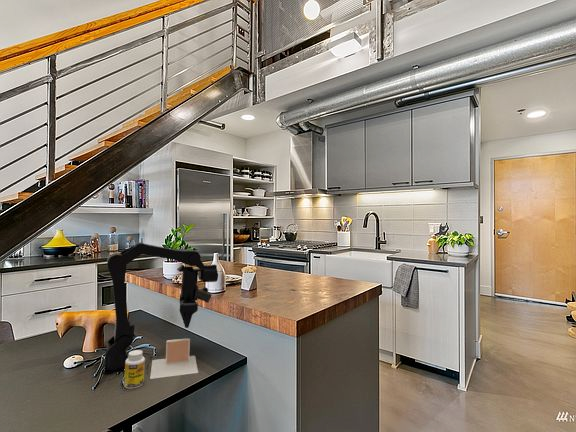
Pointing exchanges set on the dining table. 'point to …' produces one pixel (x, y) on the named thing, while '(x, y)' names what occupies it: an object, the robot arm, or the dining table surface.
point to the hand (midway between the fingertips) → (186, 323)
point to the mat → (173, 368)
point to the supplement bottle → (134, 369)
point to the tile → (177, 351)
